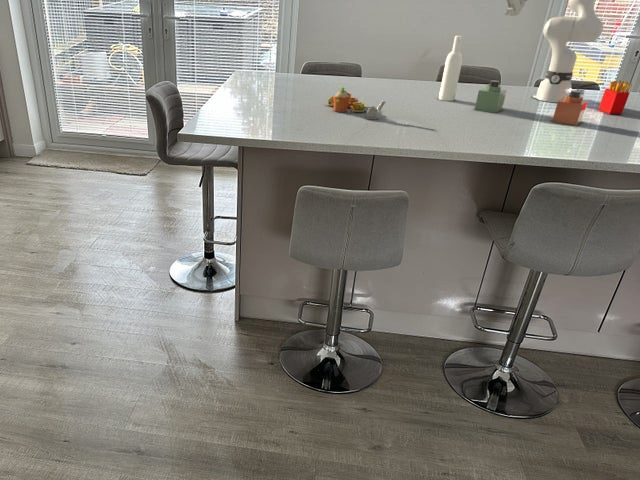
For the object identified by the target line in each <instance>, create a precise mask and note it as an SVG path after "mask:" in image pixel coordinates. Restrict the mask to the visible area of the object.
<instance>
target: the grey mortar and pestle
mask: <svg viewBox="0 0 640 480" xmlns="http://www.w3.org/2000/svg"><path fill="white" fill-rule="evenodd" d="M385 104H386V101H385V100H383V99H382V100H381V101H380V103H379V104H378V106H377V107H376V106H375V105H374V106H373V105H371V106H369V107H368V108H367V113H366V120H377V117H378V111H381V110H382V109H383V107H384V105H385Z"/></svg>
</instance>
